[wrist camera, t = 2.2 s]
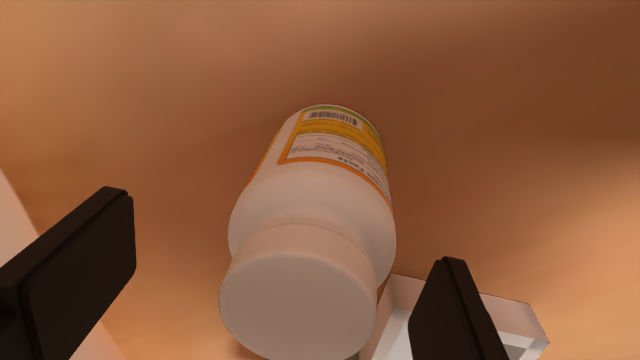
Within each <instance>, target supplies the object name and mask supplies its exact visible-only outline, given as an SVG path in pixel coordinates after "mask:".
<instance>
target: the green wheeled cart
mask: <svg viewBox="0 0 640 360" xmlns="http://www.w3.org/2000/svg"><path fill="white" fill-rule="evenodd" d="M425 283H426V281H424V280H420V279H416V278H411V277H407V276H402V275H398V274H393V273H390V276H389V278H388V281H387V283H386V286H385V288H384V291H383V293H382V296H381V298H380V301H379V303H378V306H377V320H376V326H375V329H374V332H373V334H372V336H371V338H370V339H369V341H368V342H367V343H366V345H365V346H364V347H363V348H362V349H360V351H359V353H355V354H354V355H352V356H350V357H349V358H346V359H344V360H413V358H412V352H411V347H410V341H409V336H408V320H409V317H410V315H411V313H412V311H413V309H414V307H415V304H416V302H417V300H418V298H419V296H420V293H421V291H422V289H423V287H424V285H425ZM479 294H480V297H481V299H482V301H483V303H484V306H485V308H486V310H487V311H488V313H489V314H490V316H491V318H492V321H493V323H494V325H495V327H496V330H497V332H498V334H499V336H500V339H501V341H502V343H503V345H504V348H505V350H506V352H507V354H508V357H509V359H510V360H536V359H537V358H538V357H539V355H540V354H541V353H542V352H543V350H544V349H545V348H546V347H547V345H548V344H549V343H550V342H549V340H548V338H547V336H546V334H545V332H544V330H543V329H542V327H541V325H540V323H539V321H538V319H537V317H536V315H535V314H534V312H533V310H532V308H531V306H530V304H526V303H522V302H517V301H513V300H508V299H504V298H500V297H495V296H491V295H486V294H482V293H479ZM267 360H269V359H267Z"/></svg>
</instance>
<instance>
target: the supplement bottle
mask: <svg viewBox="0 0 640 360" xmlns="http://www.w3.org/2000/svg"><path fill="white" fill-rule="evenodd" d="M228 244H229V250H230V253H231V257H232V261H231V263H230V266H229V269H228V271H227V273H226V275H225V278H224V280H223V282H222V285H221V288H220V291H219V299H218V303H219V311H220V314H221V317H222V320H223V322H224V324H225V326H226V327H227V329H228V330H229V332H230V333H231V334H232V335H233V337H234V338H235V339H236V340H237V341H238V342H240V343H241V344H242V345H243V346H244V347H246V348H247V349H249V350H250V351H252V352H254V353H256V354H257V355H259V356H262V357H264V358H266V359H269V360H344V359H346V358H349V357H350V356H352V355H354V354H355V353H356V352H358V351H359V350H360V349H362V348H363V347H364V346H365V345H366V343H367V342H368V341H369V339H370V338H371V336H372V334H373V332H374V329H375V326H376V320H377V288H378V287H379V286H380V285H381V284H382V283H383V282H384V280H385V279H386V278H387V276H388V274H389V272H390V270H391V268H392V265H393V263H394V259H395V254H396V230H395V222H394V215H393V209H392V203H391V196H390V189H389V182H388V175H387V168H386V161H385V154H384V150H383V145H382V142H381V140H380V137H379V135H378V133H377V131H376V130H375V128H374V127H373V126H372V125H371V123H370V122H369V121H368V120H366V119H365V118H364V117H363V116H361V115H360V114H358V113H357V112H355V111H353V110H351V109H348V108H346V107H343V106H339V105H332V104H320V105H314V106H310V107H307V108H304V109H302V110H300V111H298V112H296V113H295V114H293V115H292V116H291V117H289V118H288V119H287V120H286V121H285V122H284V123H283V125H282V126H281V127H280V129H279V130H278V131H277V133H276V135H275V137H274V138H273V140H272V142H271V144H270V145H269V147H268V149H267V150H266V152H265V154H264V156H263V157H262V159H261V161H260V162H259V164H258V166H257V167H256V169H255V171H254V172H253V174H252V176H251V177H250V179H249V181H248V182H247V184H246V186H245V187H244V189H243V191H242V192H241V194H240V196H239V198H238V200H237V202H236V204H235V206H234V209H233V211H232V214H231V217H230V221H229V225H228Z"/></svg>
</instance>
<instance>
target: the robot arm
mask: <svg viewBox="0 0 640 360" xmlns="http://www.w3.org/2000/svg"><path fill="white" fill-rule="evenodd" d="M135 269H136V246H135V228H134V209H133V198H132V197H131V196H128V193H127V191H125V190H122V189H117V188H112V187H108V186H104V187H102V188H101V189H100V190H98V191H97V192H96V193H95V194H93V195H92V196H91V197H89V198H88V199H87V200H86V201H84V202H83V203H82V204H81V205H79V206H78V207H77V208H76V209H74V210H73V211H72V212H70V213H69V214H68V215H67V216H65V217H64V218H63V219H62V220H60V221H59V222H58V223H57V224H55V225H54V226H53V227H51V228H50V229H49V230H48V231H46V232H45V233H44V234H43V235H41V236H40V237H39V238H37V239H36V240H35V241H34V242H33V243H31V244H30V245H29V246H27V247H26V248H25V249H24V250H22V251H21V252H20V253H18V254H17V255H16V256H15V257H13V258H12V259H11V260H10V261H8V262H7V263H6V264H5V265H3V266H2V267H1V268H0V360H69V359H70V357H71V356H72V355H73V353H74V352H75V351H76V350H77V348H78V347H79V346H80V344H81V343H82V342H83V340H84V339H85V338H86V336H87V335H88V334H89V332H90V331H91V330H92V329H93V327H94V326H95V324H96V323H97V322H98V321H99V319H100V318H101V317H102V315H103V314H104V313H105V311H106V310H107V309H108V308H109V306H110V305H111V304H112V302H113V301H114V300H115V298H116V297H117V296H118V294H119V293H120V292H121V291H122V289H123V288H124V287H125V285H126V284H127V283H128V281H129V280H130V279H131V277H132V276H133V274H134V272H135ZM408 336H409V341H410V347H411V352H412V358H413V360H510V359H509V357H508V354H507V352H506V350H505V348H504V345H503V343H502V341H501V339H500V336H499V334H498V332H497V330H496V327H495V325H494V323H493V321H492V318H491V316H490V314H489V313H488V311H487V310H486V308H485V306H484V303H483V301H482V299H481V297H480V294H479V292H478V290H477V287H476V285H475V283H474V281H473V278H472V276H471V274H470V272H469V269H468V267H467V265H466V263H465V261H464V260H461V259H457V258H452V257H447V256H444V257H443V258H442V259H441V260H436V261H435V263H434V265H433V267H432V269H431V272H430V274H429V276H428V278H427V280H426V283H425V285H424V287H423V289H422V291H421V293H420V296H419V298H418V300H417V302H416V304H415V307H414V309H413V311H412V313H411V315H410V317H409V320H408Z"/></svg>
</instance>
